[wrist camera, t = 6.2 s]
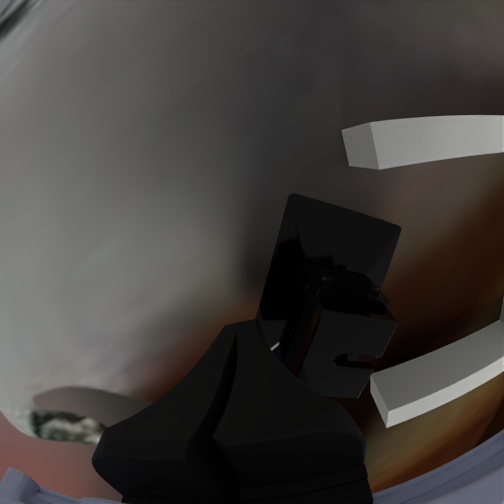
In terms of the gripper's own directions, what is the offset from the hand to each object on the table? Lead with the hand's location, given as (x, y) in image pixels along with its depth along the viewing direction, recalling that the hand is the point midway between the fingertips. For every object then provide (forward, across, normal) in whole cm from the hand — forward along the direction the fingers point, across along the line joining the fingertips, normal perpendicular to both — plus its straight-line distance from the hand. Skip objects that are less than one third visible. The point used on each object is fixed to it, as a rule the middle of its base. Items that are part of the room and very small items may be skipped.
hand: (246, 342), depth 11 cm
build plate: (+3, -3, 0) cm, 4 cm away
